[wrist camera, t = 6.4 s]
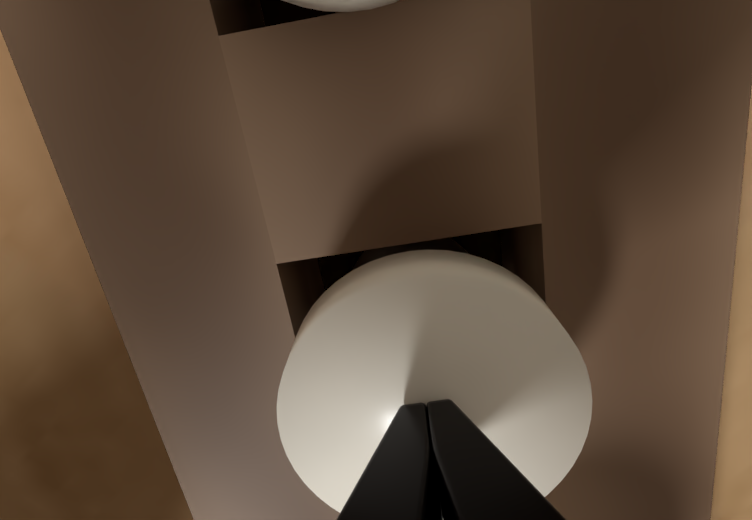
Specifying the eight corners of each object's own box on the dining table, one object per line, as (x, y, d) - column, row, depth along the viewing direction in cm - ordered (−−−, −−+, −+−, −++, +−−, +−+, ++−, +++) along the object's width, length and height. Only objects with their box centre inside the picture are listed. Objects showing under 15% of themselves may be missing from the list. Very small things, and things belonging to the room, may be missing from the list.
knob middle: (338, 386, 14) (312, 550, 9) (299, 216, 12) (240, 302, 7) (518, 363, 13) (594, 520, 8) (503, 183, 12) (589, 250, 7)
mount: (310, 636, 18) (291, 769, 15) (0, -336, 9) (-254, -615, 5) (626, 607, 17) (689, 740, 14) (645, -504, 8) (851, -973, 5)
